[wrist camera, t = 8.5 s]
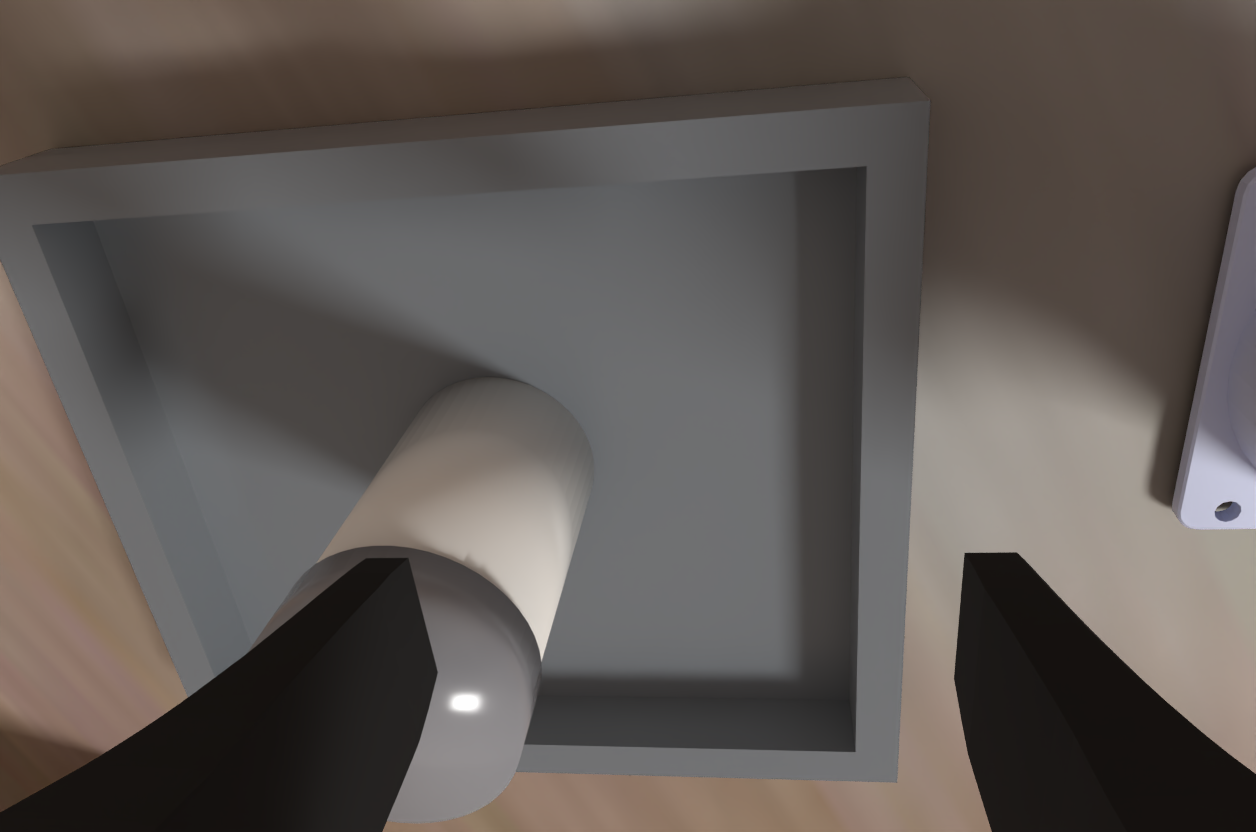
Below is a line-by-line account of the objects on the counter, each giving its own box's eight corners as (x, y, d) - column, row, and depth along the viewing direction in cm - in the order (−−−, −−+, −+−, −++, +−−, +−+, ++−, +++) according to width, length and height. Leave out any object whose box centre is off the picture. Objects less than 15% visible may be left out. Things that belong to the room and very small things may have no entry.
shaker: (594, 376, 20) (507, 620, 13) (602, 547, 22) (531, 834, 16) (391, 370, 21) (206, 601, 14) (418, 538, 23) (270, 811, 16)
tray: (908, 76, 17) (930, 100, 15) (884, 705, 25) (896, 782, 23) (50, 149, 20) (-35, 177, 18) (259, 696, 28) (216, 763, 25)
